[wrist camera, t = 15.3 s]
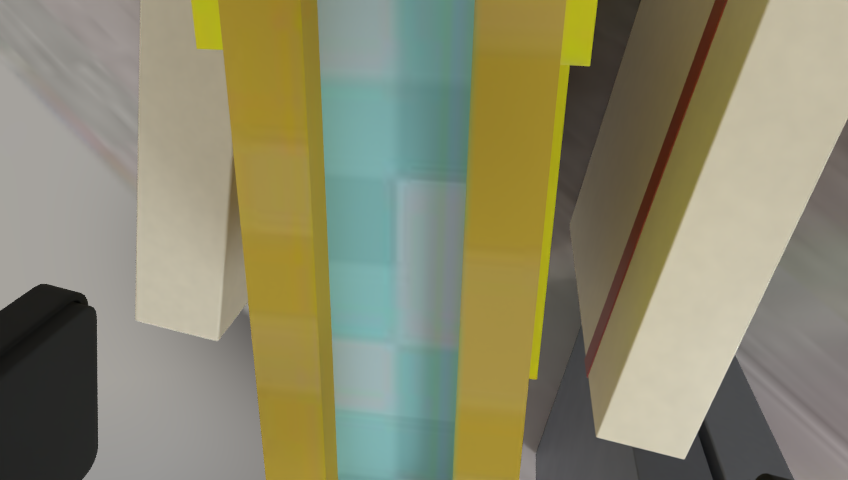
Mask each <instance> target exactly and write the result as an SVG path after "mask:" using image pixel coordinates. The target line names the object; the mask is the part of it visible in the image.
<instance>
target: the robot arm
mask: <svg viewBox="0 0 848 480" xmlns="http://www.w3.org/2000/svg"><path fill="white" fill-rule="evenodd" d="M97 406H98V404H97V316H96V311H95V309H94V308H93V307H91V306H88V301H87V299H86V297H85V295H83V294H81V293H78V292H75V291H71V290H67V289H63V288H59V287H55V286H52V285H48V284H40V285H38V286H36V287H34V288H32V289H31V290H30V291H28V292H27V293H25V294H24V295H22V296H21V297H20V298H18V299H17V300H15V301H14V302H12V303H11V304H9V305H8V306H7V307H5V308H4V309H2V310H1V311H0V480H82V479H83V478H84V477H85V475H86V474H87V473H88V471H89V470H90V469H91V467H92V465H93V463H94V460H95V458H96V455H97V449H98V412H97V411H98V407H97ZM756 480H791V479H787V478H783V477H779V476H775V475H771V474H768V473H763V474H761V475H759V476H758V477H757V478H756Z"/></svg>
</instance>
